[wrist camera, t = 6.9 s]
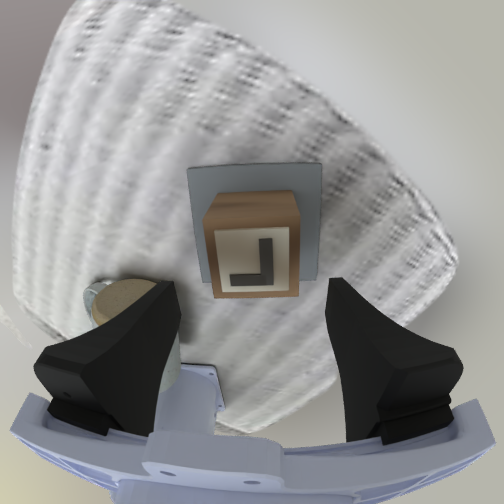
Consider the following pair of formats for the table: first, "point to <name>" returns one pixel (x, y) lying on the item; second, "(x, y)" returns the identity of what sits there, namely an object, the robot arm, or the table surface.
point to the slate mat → (261, 179)
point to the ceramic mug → (117, 300)
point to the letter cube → (253, 244)
